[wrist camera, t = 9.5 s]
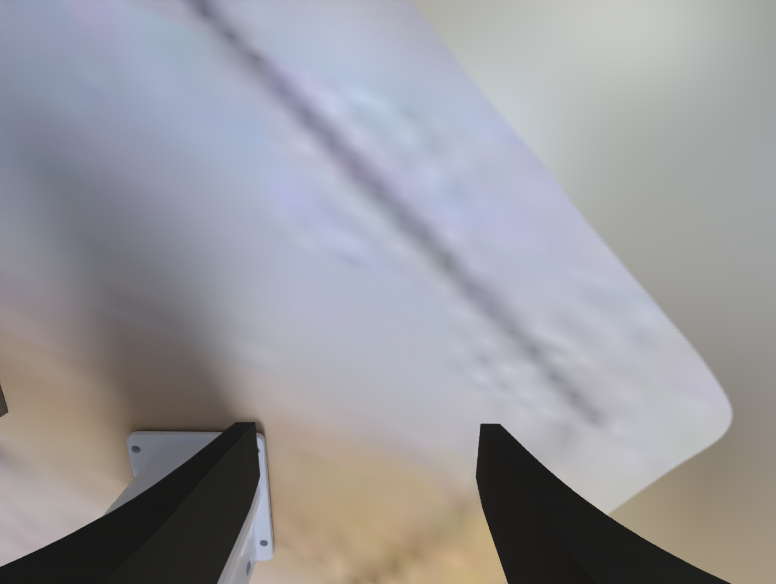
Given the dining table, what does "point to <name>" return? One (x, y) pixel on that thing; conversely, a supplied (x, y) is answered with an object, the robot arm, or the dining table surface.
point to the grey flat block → (2, 405)
